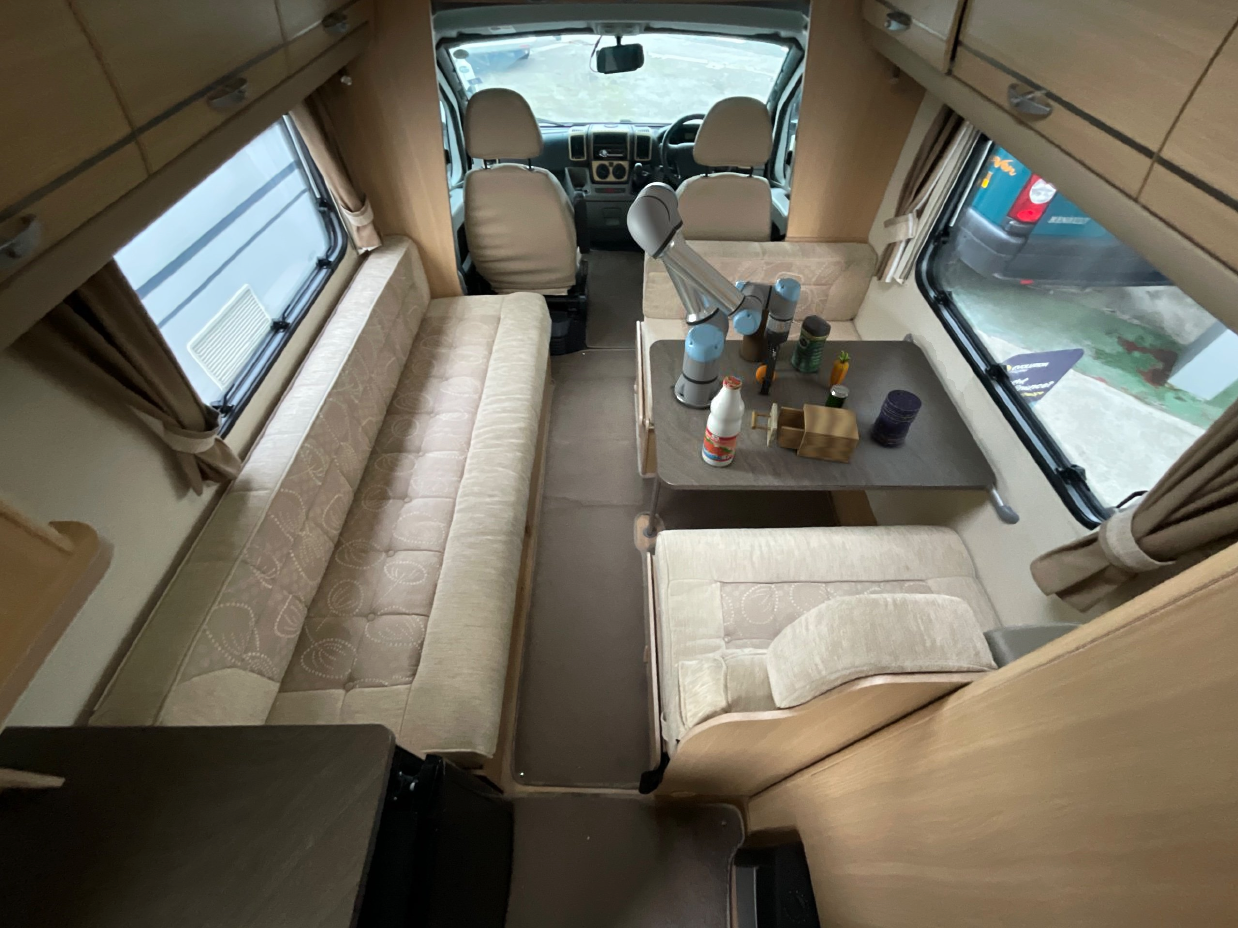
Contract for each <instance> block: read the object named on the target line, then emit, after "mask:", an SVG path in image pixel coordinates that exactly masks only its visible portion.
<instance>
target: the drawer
mask: <svg viewBox="0 0 1238 928" xmlns="http://www.w3.org/2000/svg"><path fill="white" fill-rule="evenodd" d="M758 417H764V418H768V420H767V426H761V425H758ZM750 425H751V426H750V428H751V430H753V431H754V430H755V431H756V430H757V429H758V430H765V431H767V438H766V439H767V443H766V445H767V446H766V447H767V448H769V449H771V448H772V446H773V443H774V440H775V446H776V447H781V448H788V449H794V450H797V449H799V448H800V445H801V442H802V439H803V436H804V433H805V420H804V410H803V408H802V409H800V408H795V407H794V408H793V407H787V406H781V408H780V410H779V413H778V403H773V402H772V406H771V410H770V413H769V414H766V413H761V412H757V410H753V411H752V412H751V422H750ZM775 437H776V438H775Z"/></svg>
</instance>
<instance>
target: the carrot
mask: <svg viewBox="0 0 1238 928" xmlns="http://www.w3.org/2000/svg"><path fill="white" fill-rule="evenodd" d="M840 354H841V355H838V358H839V359H837V360H834V363H833V365H832V368H831V372H830V374H829V375H830V377H829V387H830V389H831V388H832V387H833V386H834V385H841V384H842V382H843V380H844V379H845V377H846V375H847V372H848V370H849V366H850V365H849V363H848V361H849V360H851V357H850V356H849V354H848V352H844V350H841V351H840Z"/></svg>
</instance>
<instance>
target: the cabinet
mask: <svg viewBox="0 0 1238 928" xmlns="http://www.w3.org/2000/svg"><path fill="white" fill-rule="evenodd" d="M824 406H825V405H824ZM824 406H823V405H816V404H810V403H809V404H808V403H804V404H803V406H802V410H804V420H805V433H804V436H803V439H802V442H801V445H800V448H799V449H796V452H797V457H803V458H804V457H805V458H812V459H818V460H823V461H824V460H825V461H831V462H836V463H837V462H838V463H844V464H849V463H850V460H851V459H852V455H853V453H854V451H855V449H856V447H857V445H858V442H859V440H860V438H859V437H860V436H859V430H858V424H857V416H856V410H853V409H852V410H851V409H845V408H843V409H838V408H831V407H824Z"/></svg>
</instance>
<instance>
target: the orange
mask: <svg viewBox="0 0 1238 928" xmlns="http://www.w3.org/2000/svg"><path fill="white" fill-rule="evenodd" d="M766 366H767V365H763V366H762V365H761V366H759V368H757V370H756V371H755V372H756V373H755V378H756V380H757V382H758V383H760V384H762V382H763V379H762V377H765V371H766ZM776 374H777V372H776V371H775V372H774V377H773V381H774V380H775V379H776V376H777V375H776Z"/></svg>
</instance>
